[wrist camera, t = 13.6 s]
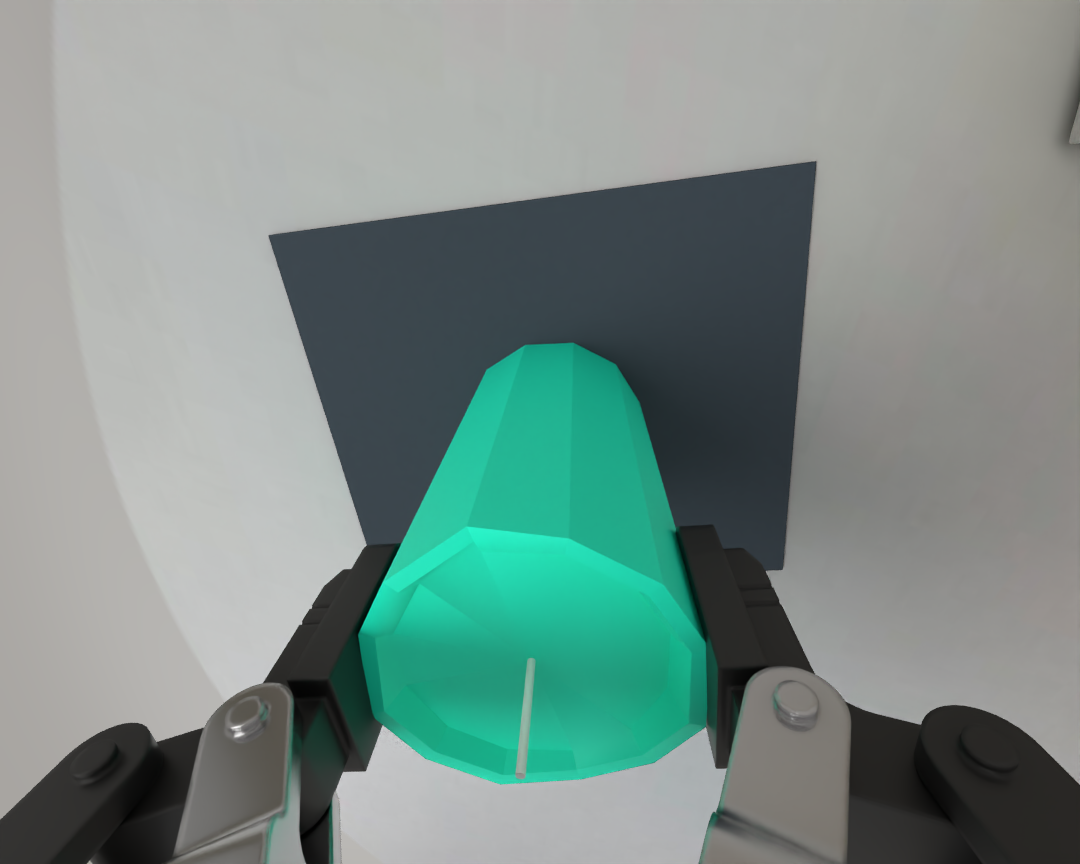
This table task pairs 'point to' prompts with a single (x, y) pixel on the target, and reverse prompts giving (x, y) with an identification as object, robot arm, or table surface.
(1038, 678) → the table surface
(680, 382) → the mat
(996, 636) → the table surface
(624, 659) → the candle
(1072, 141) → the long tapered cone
